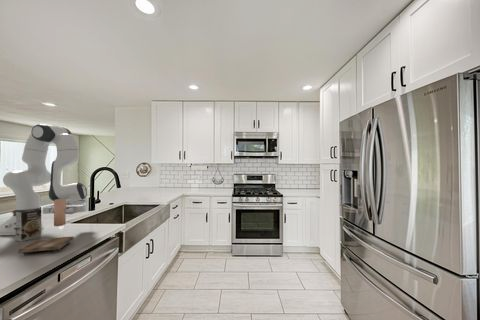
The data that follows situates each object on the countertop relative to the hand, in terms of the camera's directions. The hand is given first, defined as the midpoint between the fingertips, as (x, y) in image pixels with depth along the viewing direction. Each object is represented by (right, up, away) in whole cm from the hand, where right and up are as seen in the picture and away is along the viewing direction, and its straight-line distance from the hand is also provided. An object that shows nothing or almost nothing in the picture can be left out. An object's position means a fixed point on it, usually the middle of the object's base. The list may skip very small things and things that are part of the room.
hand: (59, 211), depth 117 cm
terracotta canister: (0, -8, +1) cm, 8 cm away
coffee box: (-23, -17, +7) cm, 30 cm away
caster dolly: (+2, -17, -9) cm, 19 cm away
